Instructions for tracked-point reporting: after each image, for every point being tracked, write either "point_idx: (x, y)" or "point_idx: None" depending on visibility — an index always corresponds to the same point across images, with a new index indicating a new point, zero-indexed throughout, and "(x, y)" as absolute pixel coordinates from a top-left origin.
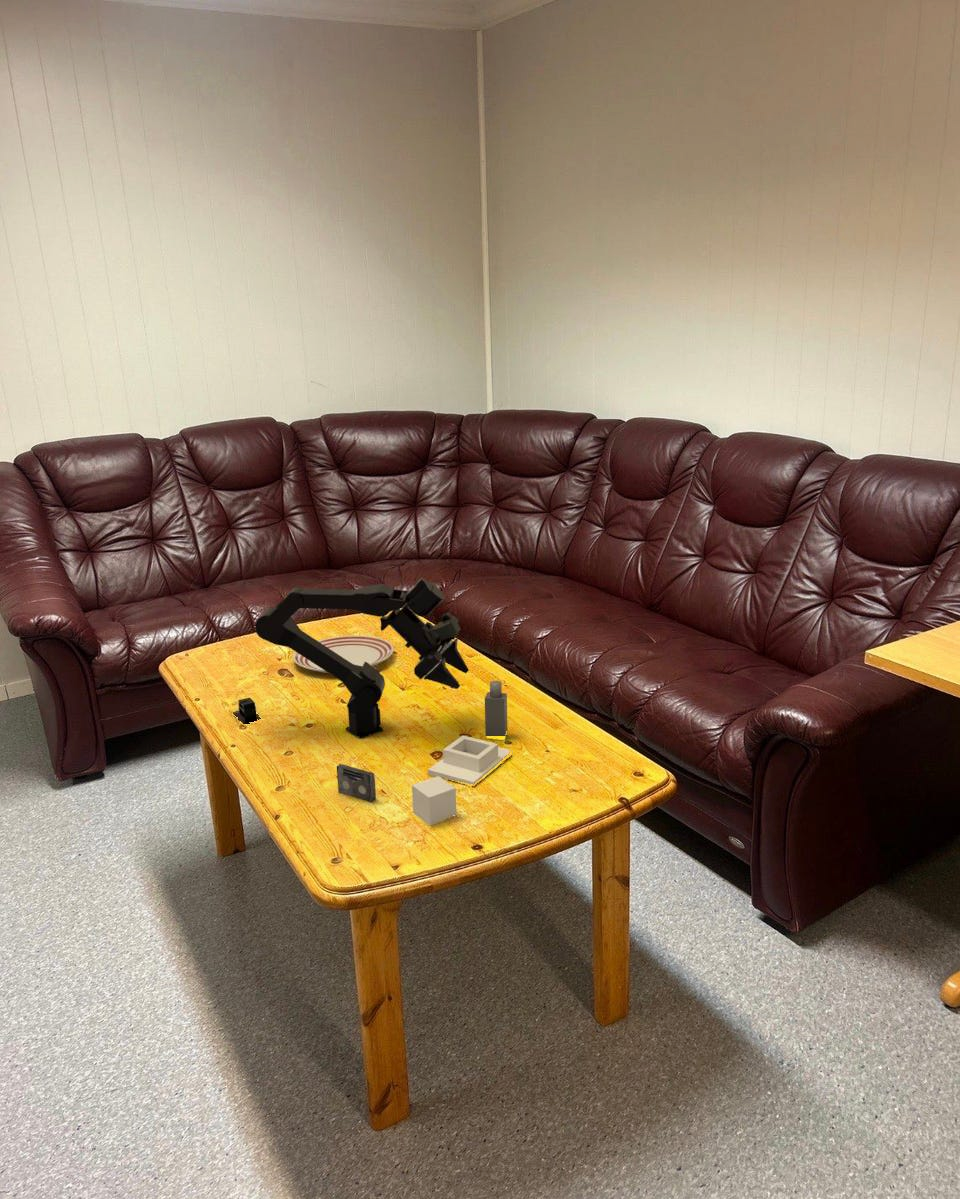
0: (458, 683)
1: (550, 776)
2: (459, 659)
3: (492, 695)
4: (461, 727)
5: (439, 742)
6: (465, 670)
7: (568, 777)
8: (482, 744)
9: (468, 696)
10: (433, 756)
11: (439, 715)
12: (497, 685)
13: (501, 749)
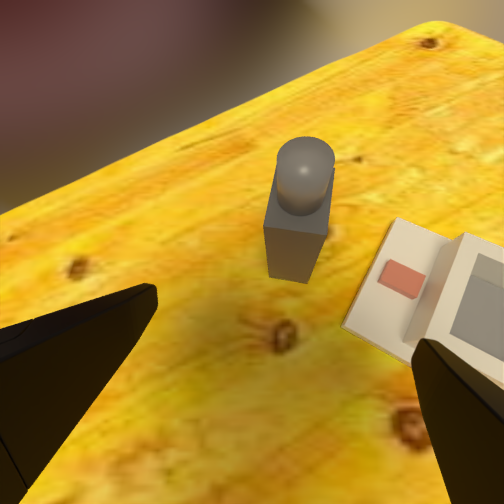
0: (439, 348)
1: (476, 154)
2: (74, 338)
3: (321, 201)
4: (232, 348)
5: (331, 419)
6: (149, 303)
7: (471, 127)
8: (467, 276)
9: None
10: None
11: (142, 421)
12: (331, 151)
13: (395, 240)
